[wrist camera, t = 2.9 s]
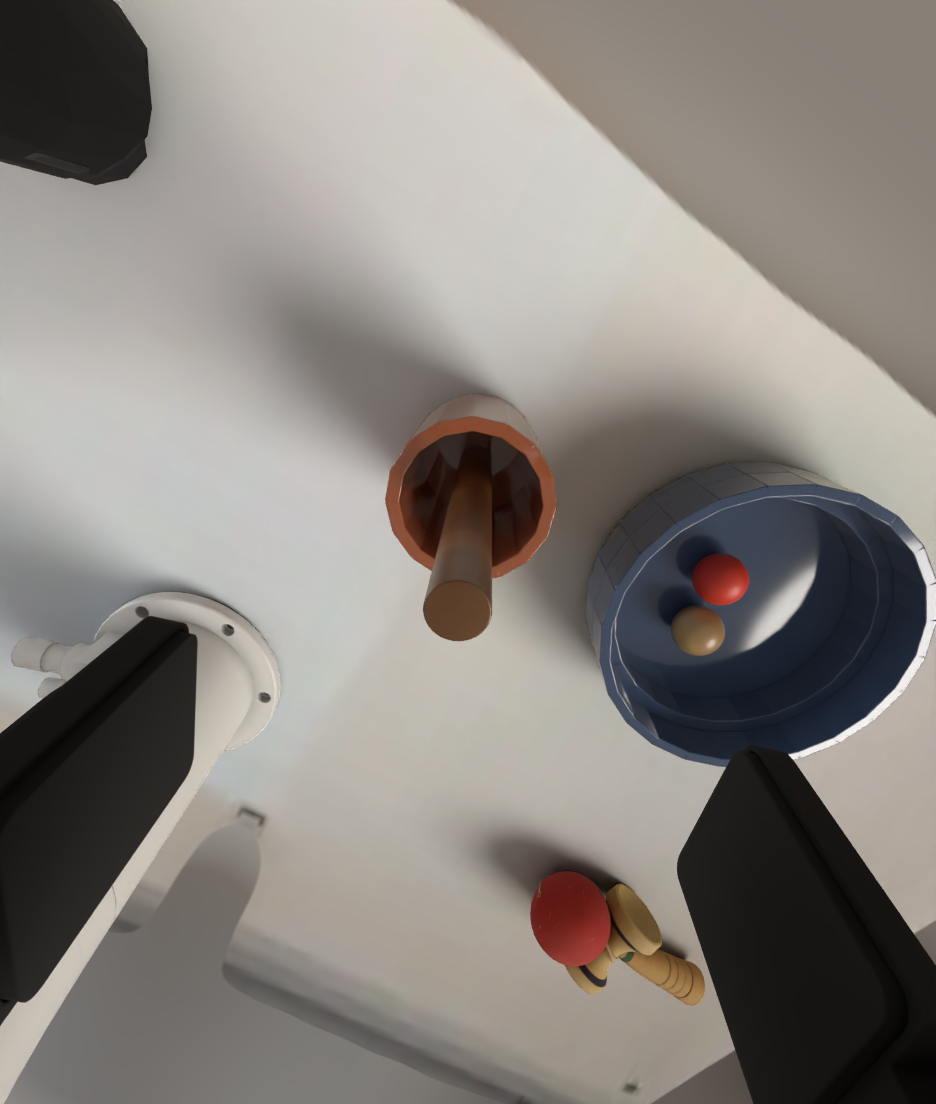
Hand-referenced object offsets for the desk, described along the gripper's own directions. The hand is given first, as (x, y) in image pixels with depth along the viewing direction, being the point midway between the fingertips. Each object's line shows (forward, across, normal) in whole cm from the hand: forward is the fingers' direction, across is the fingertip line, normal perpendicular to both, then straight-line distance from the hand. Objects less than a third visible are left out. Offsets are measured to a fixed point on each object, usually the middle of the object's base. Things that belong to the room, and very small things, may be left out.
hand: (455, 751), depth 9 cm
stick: (+23, 0, 0) cm, 23 cm away
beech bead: (+22, -15, +7) cm, 27 cm away
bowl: (+24, -17, +5) cm, 29 cm away
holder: (+24, 0, 0) cm, 24 cm away
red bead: (+22, -15, +3) cm, 26 cm away
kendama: (+24, -20, +35) cm, 47 cm away
